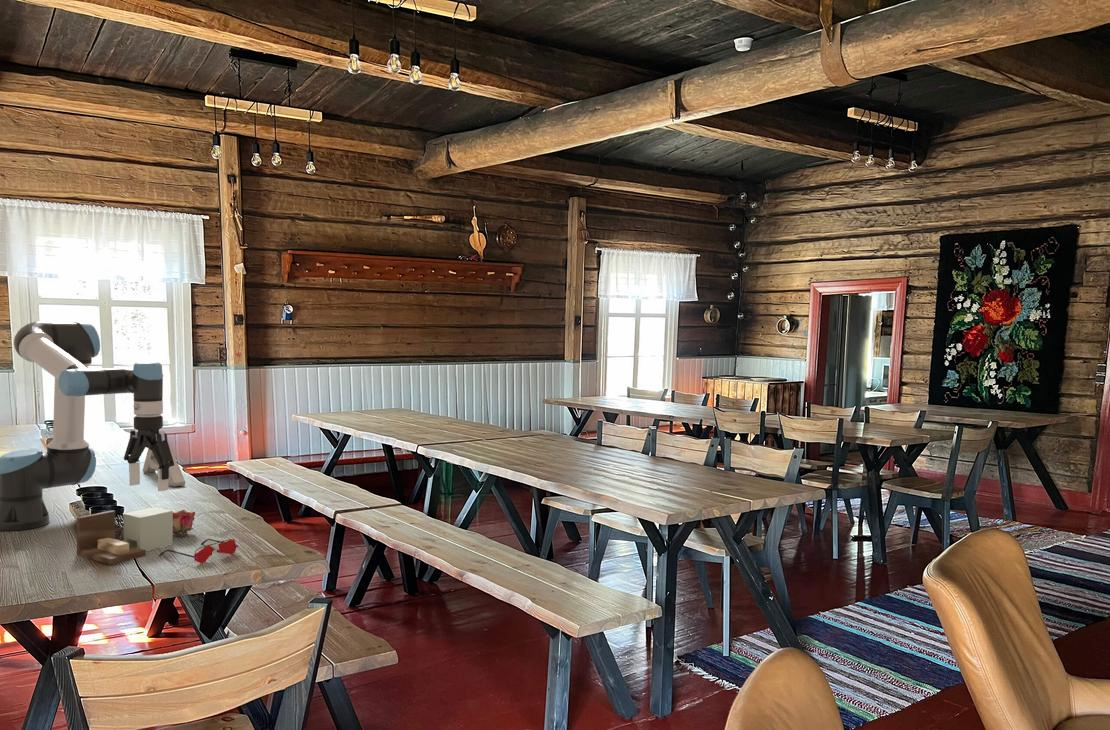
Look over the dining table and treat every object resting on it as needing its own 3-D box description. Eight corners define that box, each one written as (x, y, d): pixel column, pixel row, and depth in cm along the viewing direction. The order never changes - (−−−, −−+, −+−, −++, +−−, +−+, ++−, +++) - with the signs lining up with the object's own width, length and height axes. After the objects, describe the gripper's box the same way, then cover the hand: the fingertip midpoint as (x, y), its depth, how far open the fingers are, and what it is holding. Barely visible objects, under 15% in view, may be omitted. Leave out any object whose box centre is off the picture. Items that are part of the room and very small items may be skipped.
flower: (205, 530, 240) (200, 506, 243) (178, 530, 232) (173, 506, 235) (186, 543, 243) (181, 520, 246) (158, 544, 235) (154, 520, 238)
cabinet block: (140, 552, 222) (140, 517, 221) (123, 547, 226) (123, 513, 225) (176, 543, 232) (176, 509, 231) (160, 538, 235) (160, 506, 235)
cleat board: (76, 554, 218) (76, 517, 217) (112, 545, 227) (112, 510, 226) (110, 564, 210) (110, 526, 210) (145, 555, 219) (145, 518, 218)
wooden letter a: (162, 522, 313) (142, 470, 329) (173, 520, 316) (153, 469, 332) (173, 483, 303) (152, 431, 319) (185, 482, 306) (164, 430, 322)
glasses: (195, 567, 211) (195, 549, 211) (158, 557, 219) (158, 539, 219) (239, 554, 223) (239, 537, 223) (201, 545, 231) (201, 528, 231)
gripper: (110, 413, 229) (110, 484, 230) (162, 419, 216) (163, 495, 217) (134, 411, 235) (135, 480, 236) (187, 417, 223) (187, 490, 224)
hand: (148, 487), depth 227 cm, fingers open, 13 cm apart
